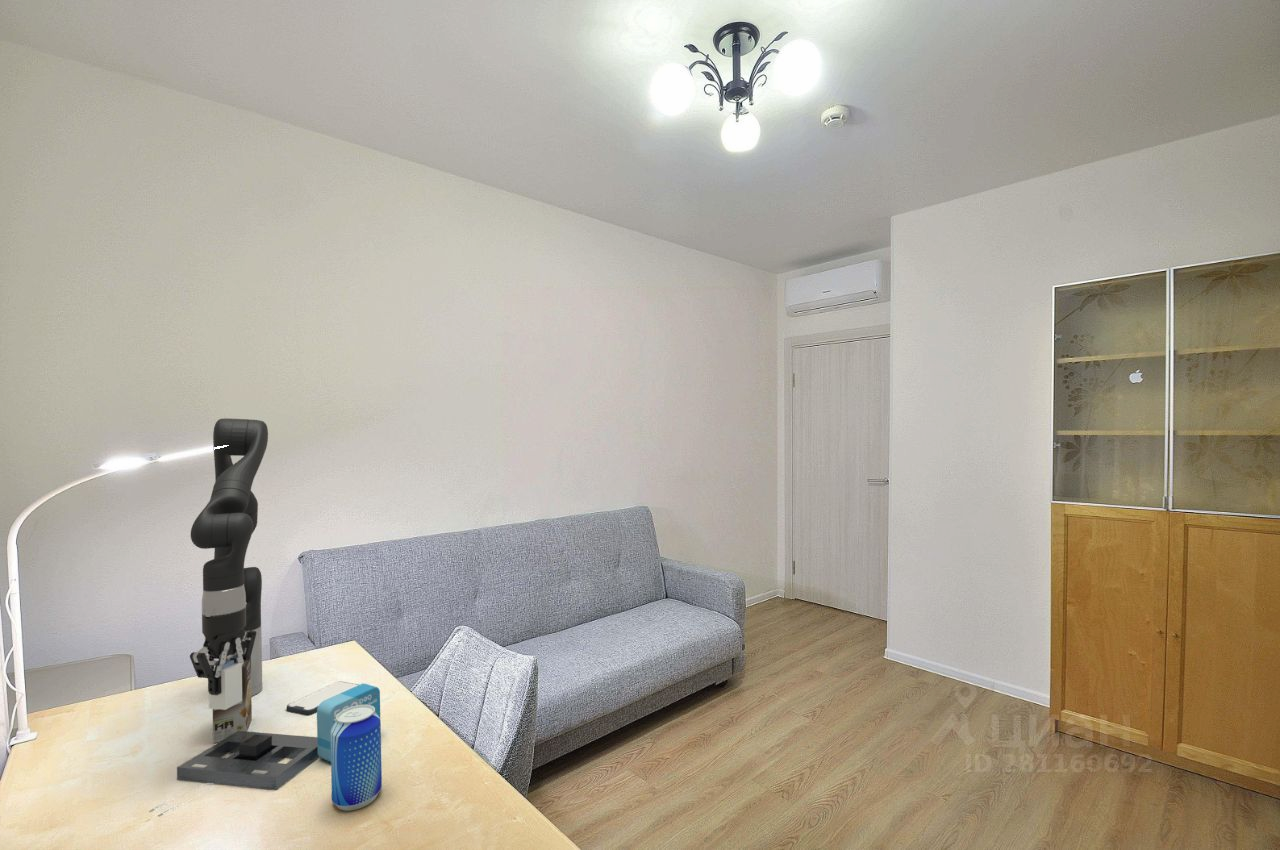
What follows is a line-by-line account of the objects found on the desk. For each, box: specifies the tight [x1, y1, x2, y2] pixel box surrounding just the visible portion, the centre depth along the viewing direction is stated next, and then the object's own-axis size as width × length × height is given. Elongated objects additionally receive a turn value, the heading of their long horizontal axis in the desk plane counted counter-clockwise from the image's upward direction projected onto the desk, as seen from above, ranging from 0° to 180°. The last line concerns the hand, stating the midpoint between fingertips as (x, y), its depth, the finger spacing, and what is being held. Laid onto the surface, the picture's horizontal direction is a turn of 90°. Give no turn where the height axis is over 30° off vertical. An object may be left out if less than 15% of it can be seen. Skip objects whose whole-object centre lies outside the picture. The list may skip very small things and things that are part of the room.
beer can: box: [330, 705, 383, 812], centre depth 107 cm, size 8×8×16 cm
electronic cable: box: [148, 783, 215, 817], centre depth 108 cm, size 4×10×1 cm, turn 154°
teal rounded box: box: [316, 683, 381, 763], centre depth 124 cm, size 12×4×12 cm, turn 152°
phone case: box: [286, 681, 359, 716], centre depth 148 cm, size 9×2×16 cm
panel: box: [176, 730, 320, 791], centre depth 119 cm, size 23×14×5 cm, turn 80°
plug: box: [208, 660, 242, 710], centre depth 120 cm, size 4×4×9 cm
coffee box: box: [212, 658, 253, 744], centre depth 133 cm, size 9×6×16 cm
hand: (225, 688), depth 120 cm, fingers closed on plug, 4 cm apart
